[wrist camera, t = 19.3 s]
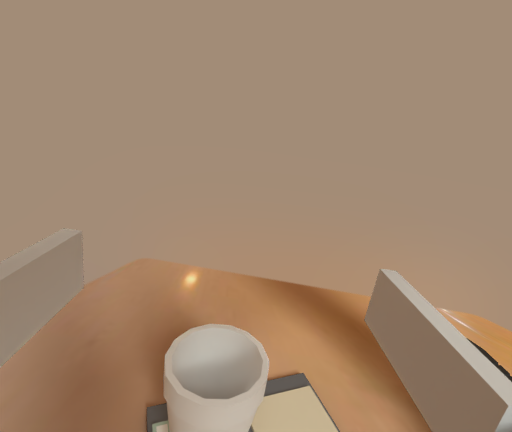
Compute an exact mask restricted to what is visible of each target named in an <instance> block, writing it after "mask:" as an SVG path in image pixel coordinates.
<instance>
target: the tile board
mask: <svg viewBox="0 0 512 432" xmlns="http://www.w3.org/2000/svg"><path fill="white" fill-rule="evenodd" d="M147 432H170V431H169V421H168V411H167V403H165V404H161V405H156V406H152V407H147ZM248 432H340V431H339V429H338V428H337V426H336V424H335V423H334V421H333V420H332V418H331V416H330V415H329V413H328V412H327V410H326V408H325V407H324V405H323V404H322V402H321V400H320V399H319V397H318V396H317V394H316V392H315V391H314V389H313V388H312V386H311V384H310V383H309V381H308V380H307V378H306V377H305V375H304V373H301V374H296V375H292V376H287V377H283V378H278V379H273V380H269V381H267V383H266V388H265V393H264V398H263V401H262V402H261V404H260V405H259V406H258V408H257V411H256V413H255V416H254V419H253V421H252V424H251V426H250V429H249V431H248Z"/></svg>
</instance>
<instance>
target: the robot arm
mask: <svg viewBox="0 0 512 432" xmlns="http://www.w3.org/2000/svg"><path fill="white" fill-rule="evenodd" d="M83 278H84V276H83V243H82V231H80V230H73V229H65V228H64V229H61V230H60V231H57V232H56V233H54V234H52V235H50V236H48V237H46V238H44V239H42V240H41V241H39V242H37V243H35V244H33V245H31V246H29V247H28V248H26V249H24V250H22V251H20V252H18V253H16V254H14V255H13V256H11V257H9V258H7V259H5V260H3V261H1V262H0V368H1V367H2V366H3V365H4V364H5V363H6V362H7V361H8V360H9V359H10V358H11V357H12V356H13V355H14V354H15V353H16V352H17V351H18V350H19V349H20V348H22V347H23V346H24V345H25V344H26V343H27V342H28V341H29V340H30V339H31V338H32V337H33V336H34V335H35V334H36V333H37V332H38V331H39V330H40V329H41V328H42V327H43V326H44V325H46V324H47V323H48V322H49V321H50V320H51V319H52V318H53V317H54V316H55V315H56V314H57V313H58V312H59V311H60V310H61V309H62V308H63V307H64V306H65V305H66V304H67V303H68V302H69V301H71V300H72V299H73V298H74V297H75V296H76V295H77V294H78V293H79V292H80V291H81V290H82V289H83V288H84V279H83ZM364 320H365V322H366V324H367V325H368V327H369V329H370V330H371V332H372V334H373V335H374V337H375V338H376V340H377V342H378V343H379V345H380V347H381V348H382V350H383V352H384V353H385V355H386V357H387V358H388V360H389V362H390V363H391V365H392V367H393V368H394V370H395V371H396V373H397V375H398V376H399V378H400V380H401V381H402V383H403V385H404V386H405V388H406V390H407V391H408V393H409V395H410V396H411V398H412V400H413V401H414V403H415V405H416V406H417V408H418V409H419V411H420V413H421V414H422V416H423V418H424V419H425V421H426V423H427V424H428V426H429V428H430V429H431V431H432V432H512V377H511V376H510V374H509V373H508V372H507V371H506V370H505V369H504V368H503V367H502V366H501V365H498V362H497V361H496V360H494V359H493V358H492V357H491V356H490V355H489V354H488V353H487V352H486V351H485V350H484V349H482V348H481V347H479V346H478V345H476V344H475V343H473V342H472V341H470V340H469V339H467V338H465V337H464V336H463V335H462V334H461V333H460V332H459V331H458V330H457V329H456V328H455V327H454V326H453V325H452V324H451V323H450V322H449V321H448V320H447V319H446V318H445V317H444V316H443V315H441V314H440V313H439V312H438V311H437V310H436V309H435V308H434V307H433V306H432V305H431V304H430V303H429V302H428V301H427V300H426V299H425V298H424V297H423V296H422V295H421V294H420V293H419V292H418V291H416V290H415V289H414V288H413V287H412V286H411V285H410V284H409V283H408V282H407V281H406V280H405V279H404V278H403V277H402V276H401V275H400V274H399V273H398V272H397V271H393V270H385V269H380V271H379V274H378V277H377V281H376V284H375V287H374V291H373V293H372V297H371V300H370V303H369V306H368V310H367V313H366V316H365V319H364Z"/></svg>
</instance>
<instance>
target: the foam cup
mask: <svg viewBox="0 0 512 432" xmlns="http://www.w3.org/2000/svg"><path fill="white" fill-rule="evenodd" d="M268 369H269V359H268V357H267V354H266V352H265V350H264V348H263V345H262V344H261V343H260V342H259V341H258V340H256V339H255V338H254V337H253V336H252V335H251V334H250V333H248V332H246V331H244V330H241V329H239V328H236V327H234V326H231V325H221V324H207V325H203V326H199V327H195V328H191V329H189V330H188V331H186V332H185V333H183V334H182V335H180V336H179V337H177V338H176V339H175V340H174V341H173V343H172V344H171V346H170V348H169V349H168V351H167V353H166V354H165V361H164V375H163V382H164V398H165V400H166V401H167V411H168V421H169V431H170V432H248V431H249V429H250V426H251V424H252V421H253V419H254V416H255V413H256V411H257V408H258V406H259V405H260V404H261V402H262V401H263V398H264V393H265V388H266V383H267V377H268Z"/></svg>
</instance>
